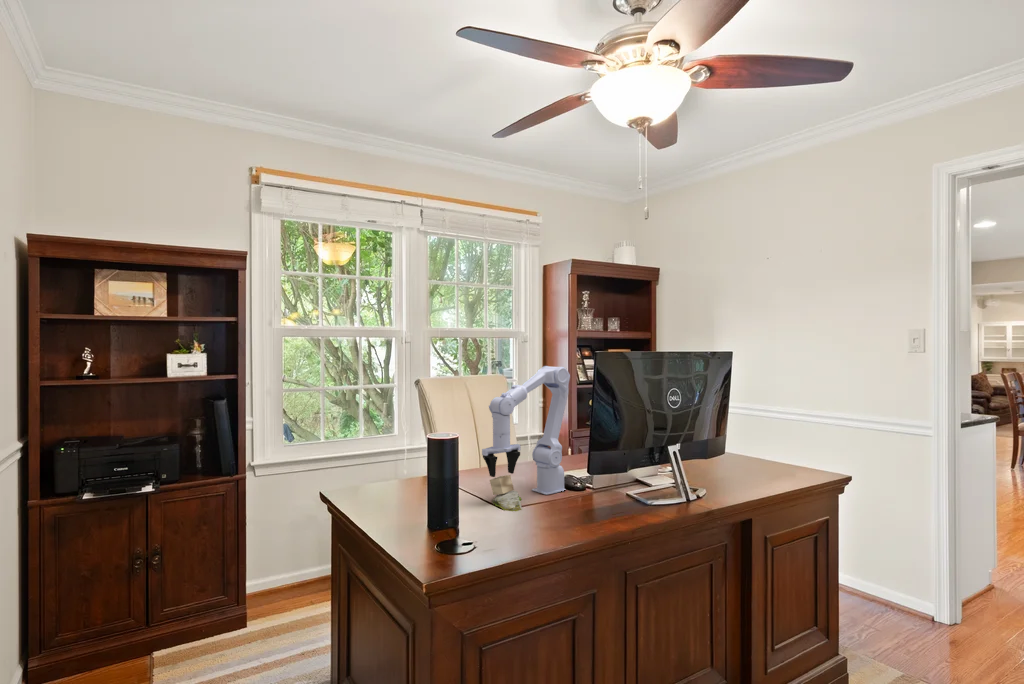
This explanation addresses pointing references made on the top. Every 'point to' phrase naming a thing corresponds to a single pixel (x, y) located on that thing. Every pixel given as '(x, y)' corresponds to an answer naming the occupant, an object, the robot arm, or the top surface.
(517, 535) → the top surface
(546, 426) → the robot arm
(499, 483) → the beech block
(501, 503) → the decorative stone
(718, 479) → the top surface
